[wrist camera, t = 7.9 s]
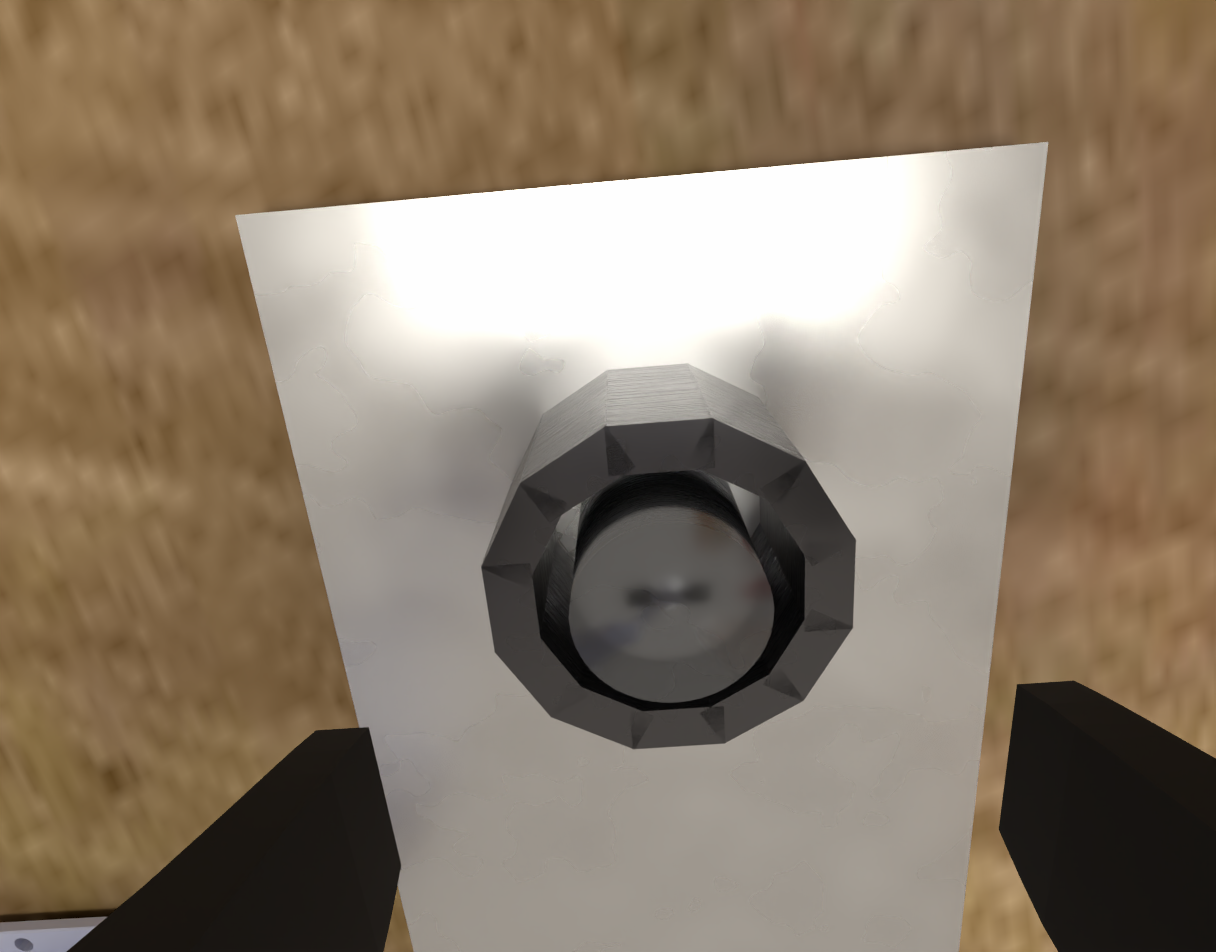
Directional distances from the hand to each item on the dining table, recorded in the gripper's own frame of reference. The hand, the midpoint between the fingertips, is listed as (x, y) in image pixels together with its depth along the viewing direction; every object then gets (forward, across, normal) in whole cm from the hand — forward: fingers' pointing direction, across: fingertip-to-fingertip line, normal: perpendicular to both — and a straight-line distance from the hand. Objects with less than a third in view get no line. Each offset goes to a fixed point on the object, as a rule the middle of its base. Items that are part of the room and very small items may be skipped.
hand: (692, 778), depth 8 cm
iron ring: (+8, 0, 0) cm, 8 cm away
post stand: (+9, 0, +4) cm, 10 cm away
